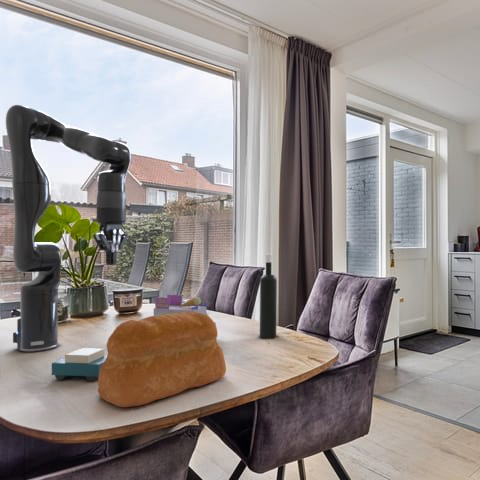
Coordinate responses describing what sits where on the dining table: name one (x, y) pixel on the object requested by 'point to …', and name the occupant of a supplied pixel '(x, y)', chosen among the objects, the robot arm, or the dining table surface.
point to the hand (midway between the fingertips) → (111, 264)
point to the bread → (160, 358)
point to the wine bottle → (268, 301)
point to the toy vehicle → (178, 305)
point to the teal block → (80, 364)
